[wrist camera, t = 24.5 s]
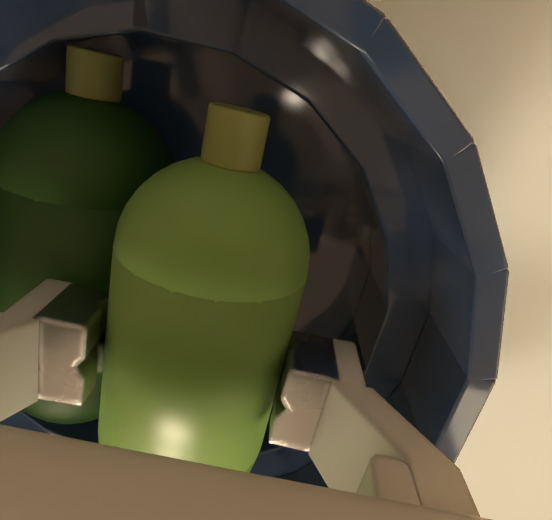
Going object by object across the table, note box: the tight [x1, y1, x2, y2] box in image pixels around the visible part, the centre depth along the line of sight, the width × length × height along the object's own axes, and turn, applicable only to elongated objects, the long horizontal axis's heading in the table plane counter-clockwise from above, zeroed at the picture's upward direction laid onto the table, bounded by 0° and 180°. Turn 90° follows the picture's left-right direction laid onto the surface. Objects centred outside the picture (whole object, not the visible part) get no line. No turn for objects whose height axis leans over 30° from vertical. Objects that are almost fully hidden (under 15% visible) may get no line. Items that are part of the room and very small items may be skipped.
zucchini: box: [0, 44, 173, 424], centre depth 12 cm, size 10×4×4 cm, turn 168°
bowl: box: [0, 0, 509, 488], centre depth 12 cm, size 15×15×6 cm
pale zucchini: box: [98, 102, 310, 473], centre depth 9 cm, size 9×4×4 cm, turn 168°
